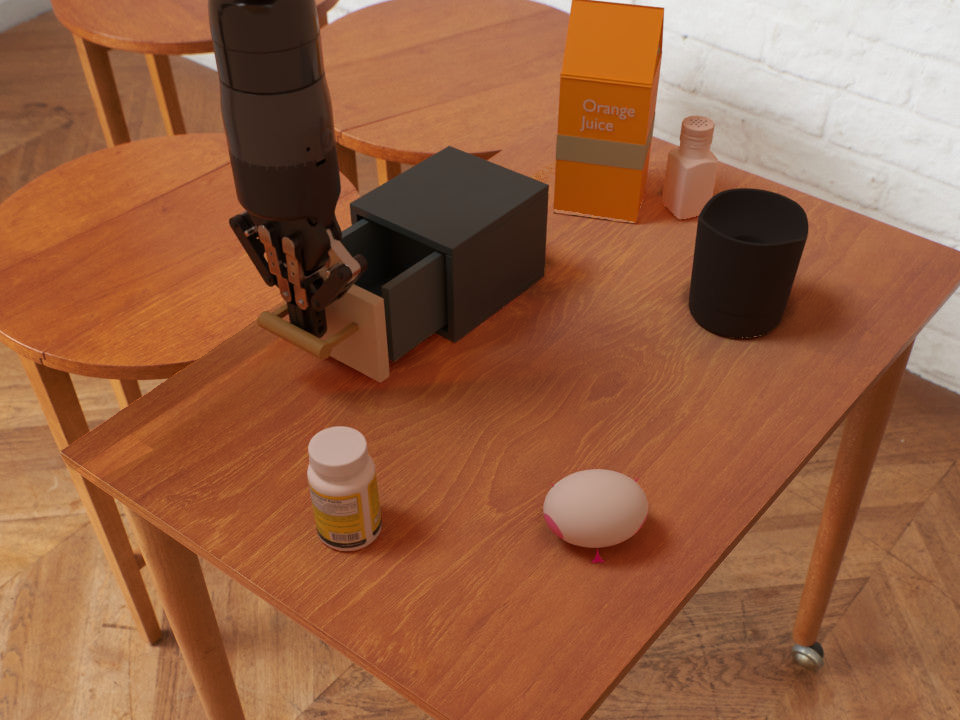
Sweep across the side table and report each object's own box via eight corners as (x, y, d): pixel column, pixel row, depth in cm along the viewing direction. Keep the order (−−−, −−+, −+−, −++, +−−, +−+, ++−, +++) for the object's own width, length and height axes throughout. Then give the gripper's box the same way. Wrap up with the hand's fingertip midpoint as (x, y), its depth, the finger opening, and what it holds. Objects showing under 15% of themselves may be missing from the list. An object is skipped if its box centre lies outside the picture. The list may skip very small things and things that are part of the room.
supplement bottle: (355, 496, 79) (344, 412, 73) (395, 530, 77) (387, 445, 71) (303, 528, 77) (288, 444, 71) (343, 563, 75) (331, 479, 69)
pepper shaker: (678, 223, 108) (691, 135, 101) (658, 204, 110) (670, 117, 103) (711, 215, 109) (726, 127, 102) (691, 197, 111) (705, 110, 105)
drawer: (341, 412, 85) (331, 333, 79) (252, 362, 89) (236, 284, 83) (474, 314, 94) (473, 238, 89) (388, 274, 99) (382, 198, 93)
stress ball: (630, 542, 81) (629, 457, 80) (659, 567, 73) (659, 473, 72) (533, 548, 80) (531, 462, 79) (552, 574, 72) (550, 479, 71)
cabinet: (454, 343, 93) (452, 249, 86) (358, 296, 98) (348, 203, 91) (544, 276, 101) (549, 184, 94) (451, 235, 105) (449, 145, 98)
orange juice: (636, 225, 107) (660, 24, 93) (552, 213, 109) (562, 13, 94) (646, 187, 113) (670, -8, 98) (565, 177, 114) (577, -18, 100)
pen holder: (807, 325, 96) (833, 228, 89) (724, 354, 93) (745, 256, 85) (743, 274, 101) (763, 178, 94) (663, 300, 98) (678, 203, 91)
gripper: (176, 127, 74) (220, 328, 86) (311, 187, 69) (337, 392, 81) (254, 91, 78) (286, 288, 91) (387, 144, 73) (401, 346, 85)
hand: (310, 337), depth 86 cm, fingers closed
